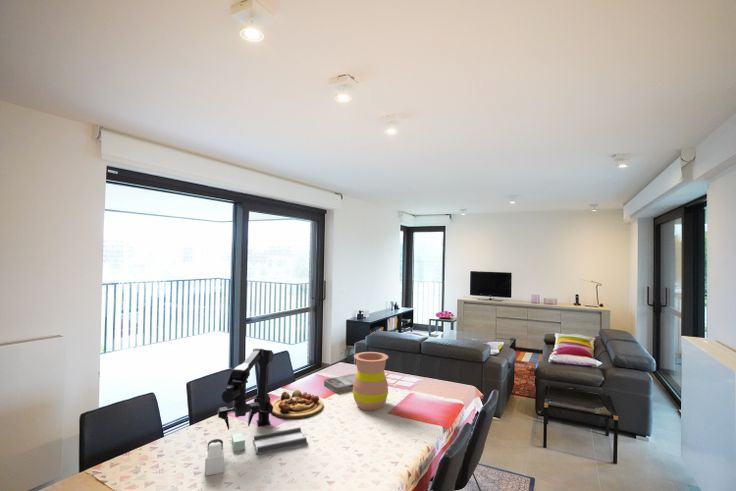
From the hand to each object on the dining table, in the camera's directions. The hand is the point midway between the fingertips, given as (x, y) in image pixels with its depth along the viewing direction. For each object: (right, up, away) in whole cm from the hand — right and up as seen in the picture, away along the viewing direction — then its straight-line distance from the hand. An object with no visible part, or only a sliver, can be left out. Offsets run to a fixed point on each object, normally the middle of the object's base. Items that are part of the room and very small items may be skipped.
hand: (238, 427), depth 176 cm
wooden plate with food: (+19, -11, +45) cm, 50 cm away
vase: (+64, -11, +50) cm, 82 cm away
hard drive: (+47, -12, +83) cm, 96 cm away
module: (0, -9, 0) cm, 9 cm away
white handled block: (-3, -9, -19) cm, 22 cm away
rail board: (+19, -9, +3) cm, 21 cm away
